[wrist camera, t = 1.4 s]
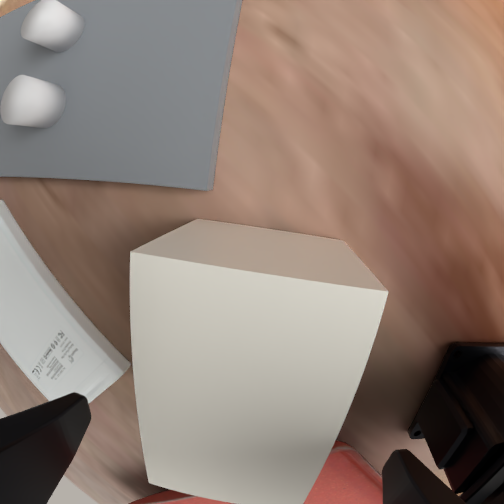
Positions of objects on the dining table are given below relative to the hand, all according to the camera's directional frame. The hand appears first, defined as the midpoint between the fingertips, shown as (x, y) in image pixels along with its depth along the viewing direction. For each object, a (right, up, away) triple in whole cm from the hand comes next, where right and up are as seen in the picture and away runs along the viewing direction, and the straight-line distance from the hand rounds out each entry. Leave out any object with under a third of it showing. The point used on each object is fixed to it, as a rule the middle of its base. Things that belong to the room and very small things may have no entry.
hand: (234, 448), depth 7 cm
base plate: (-9, +14, +5) cm, 17 cm away
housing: (+1, +2, +7) cm, 7 cm away
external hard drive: (-13, +1, +9) cm, 16 cm away
